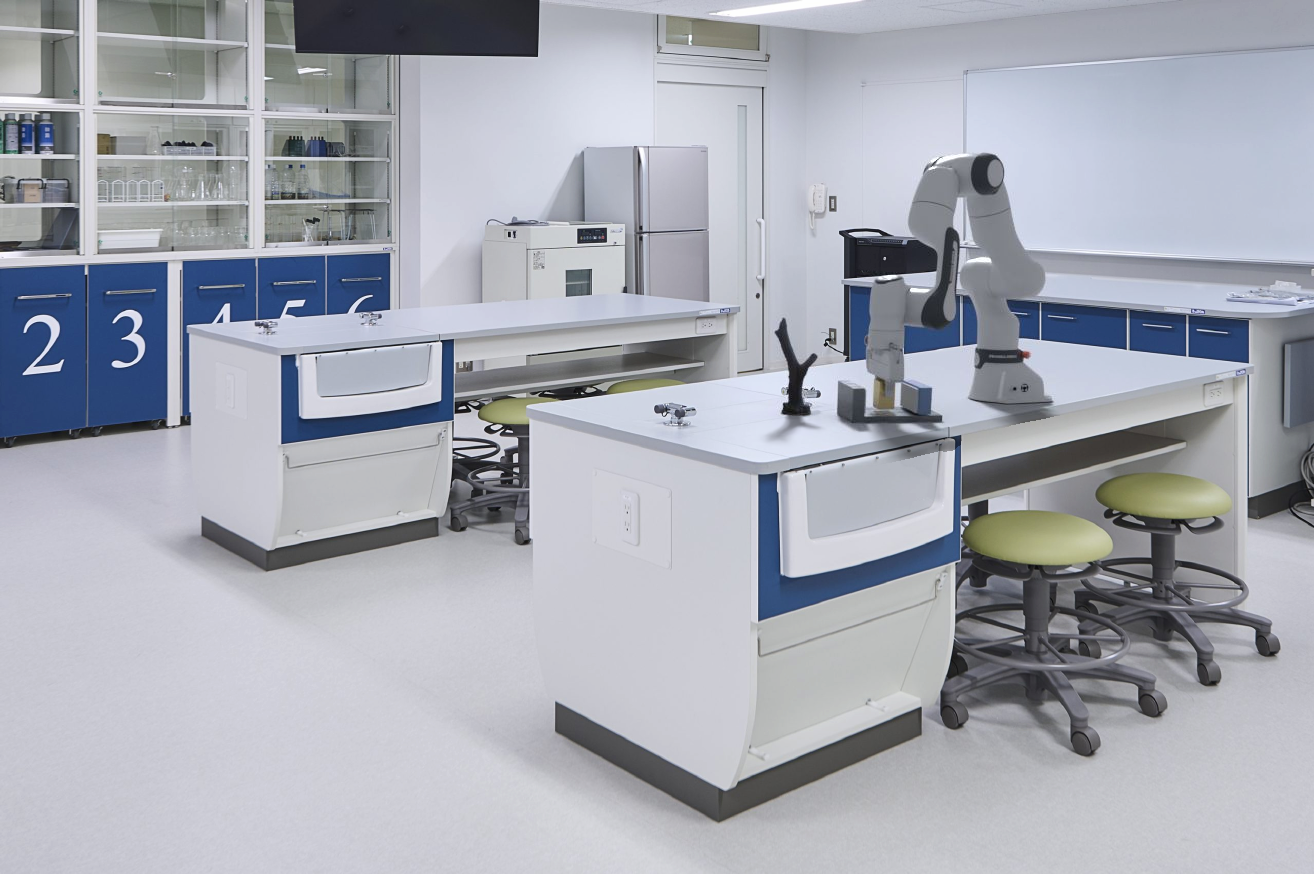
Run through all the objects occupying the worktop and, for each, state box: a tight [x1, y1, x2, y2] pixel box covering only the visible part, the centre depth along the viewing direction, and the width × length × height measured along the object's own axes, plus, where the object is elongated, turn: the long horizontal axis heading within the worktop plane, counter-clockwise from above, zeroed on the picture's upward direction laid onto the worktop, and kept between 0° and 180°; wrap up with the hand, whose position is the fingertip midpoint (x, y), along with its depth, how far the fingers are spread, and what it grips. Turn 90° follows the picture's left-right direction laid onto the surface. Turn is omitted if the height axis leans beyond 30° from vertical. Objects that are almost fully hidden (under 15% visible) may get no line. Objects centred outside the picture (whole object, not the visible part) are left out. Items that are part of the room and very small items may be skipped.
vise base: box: [836, 379, 943, 424], centre depth 303 cm, size 23×14×8 cm, turn 97°
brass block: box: [872, 378, 896, 410], centre depth 303 cm, size 4×5×7 cm
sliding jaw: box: [899, 379, 933, 415], centre depth 304 cm, size 4×14×7 cm, turn 7°
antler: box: [774, 317, 819, 416], centre depth 306 cm, size 12×8×25 cm
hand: (884, 395), depth 303 cm, fingers closed on brass block, 5 cm apart
